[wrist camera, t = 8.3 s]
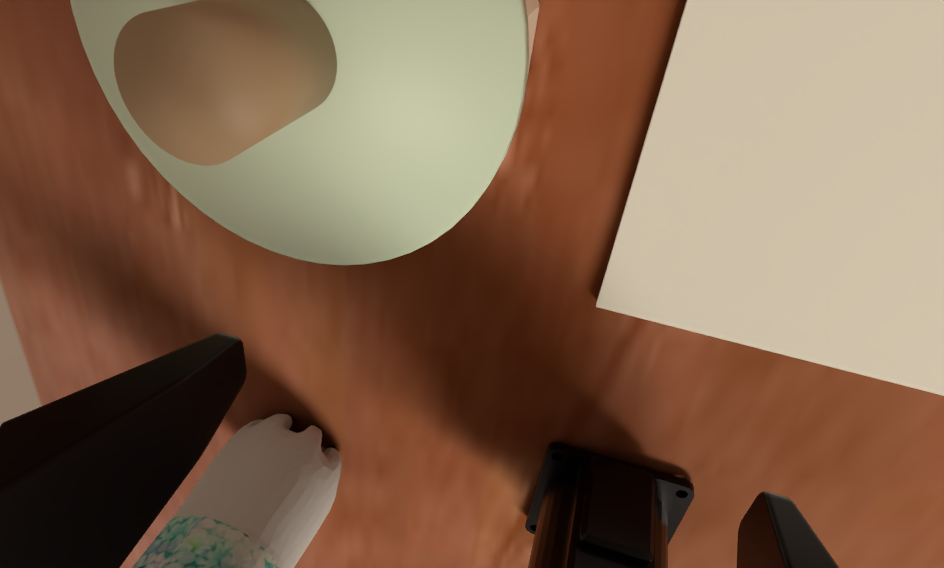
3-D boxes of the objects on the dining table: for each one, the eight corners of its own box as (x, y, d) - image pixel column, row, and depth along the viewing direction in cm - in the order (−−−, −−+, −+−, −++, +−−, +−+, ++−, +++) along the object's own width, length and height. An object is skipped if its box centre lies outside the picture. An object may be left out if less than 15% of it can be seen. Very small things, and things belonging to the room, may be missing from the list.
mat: (1005, 404, 20) (1011, 412, 20) (596, 301, 22) (595, 306, 22) (1438, -74, 12) (1460, -73, 12) (735, -164, 14) (736, -165, 14)
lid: (491, 294, 19) (446, 396, 15) (139, 204, 21) (20, 273, 17) (581, -238, 12) (537, -306, 8) (24, -300, 14) (-231, -377, 10)
